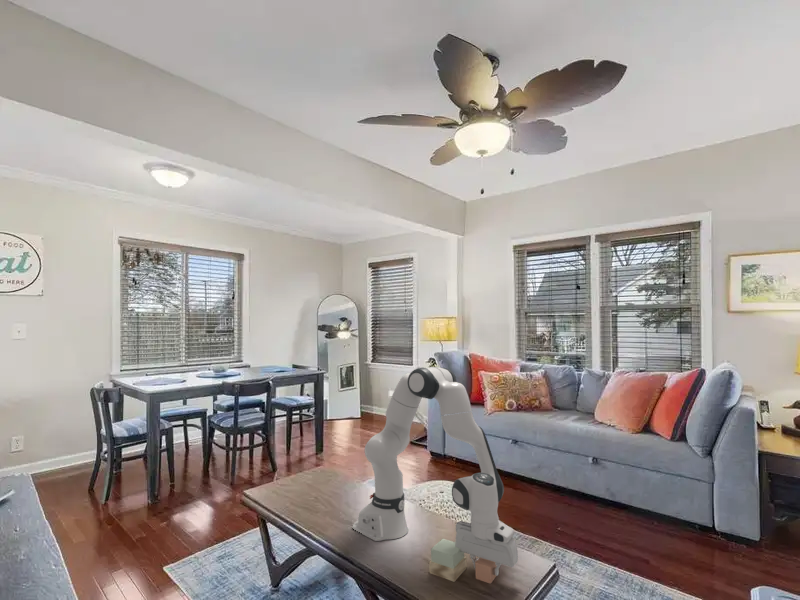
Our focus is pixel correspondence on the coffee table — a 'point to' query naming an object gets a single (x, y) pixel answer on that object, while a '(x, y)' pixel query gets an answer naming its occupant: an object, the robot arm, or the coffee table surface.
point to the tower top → (446, 554)
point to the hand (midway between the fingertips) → (486, 571)
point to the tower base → (448, 570)
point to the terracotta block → (484, 570)
